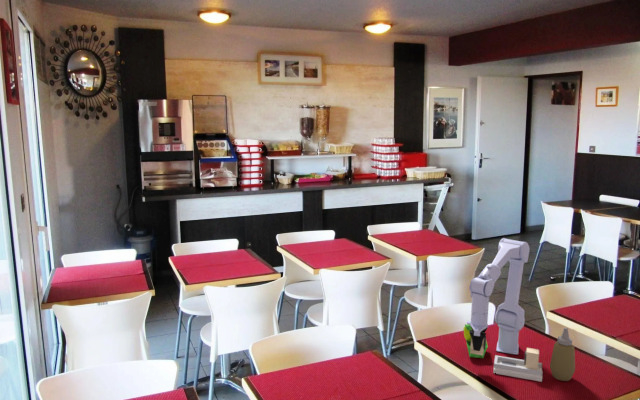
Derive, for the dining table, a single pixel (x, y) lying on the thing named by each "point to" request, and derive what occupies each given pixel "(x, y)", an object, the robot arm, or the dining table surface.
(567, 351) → the squeeze bottle
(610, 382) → the dining table surface
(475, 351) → the maple finger
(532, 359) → the rail
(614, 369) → the dining table surface
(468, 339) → the fruit basket
